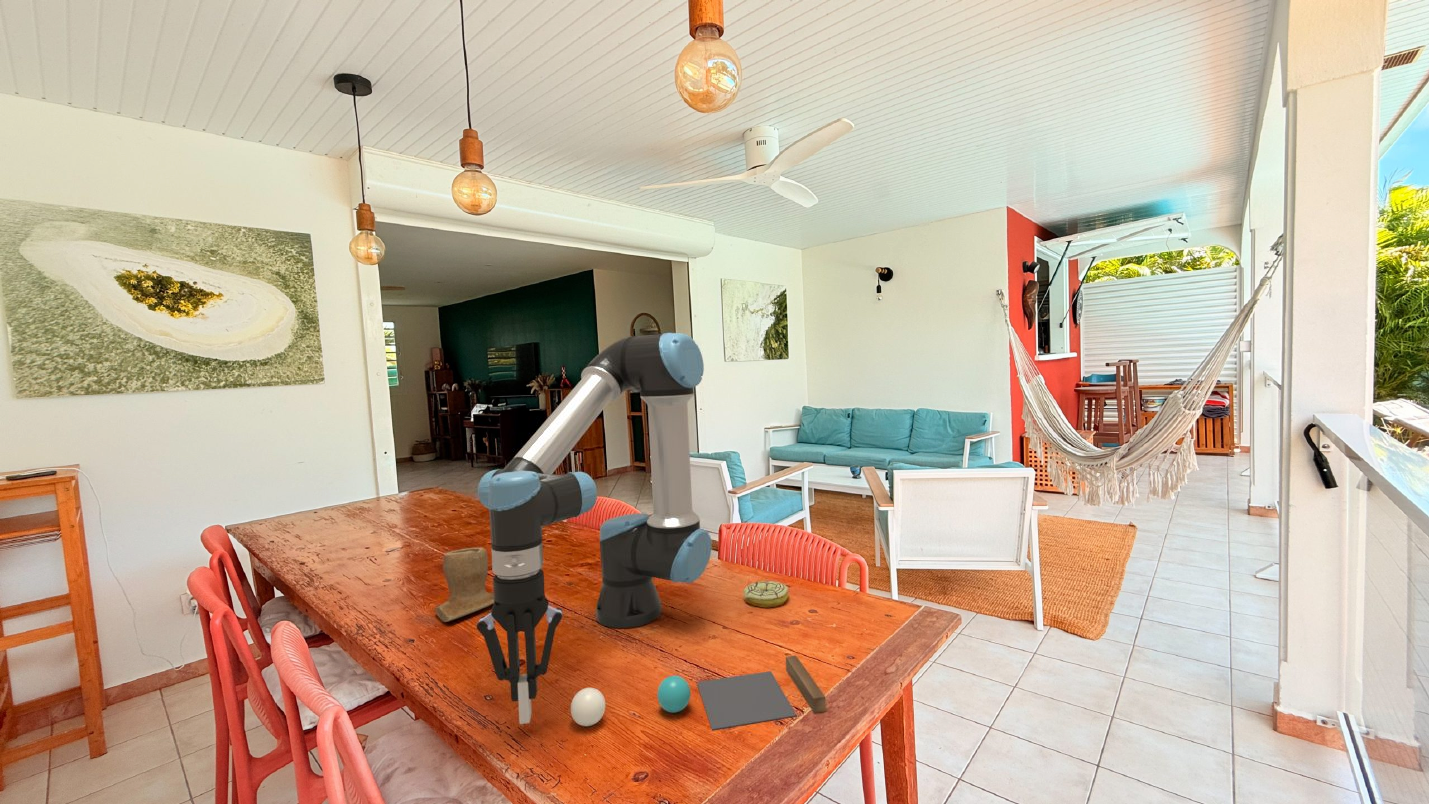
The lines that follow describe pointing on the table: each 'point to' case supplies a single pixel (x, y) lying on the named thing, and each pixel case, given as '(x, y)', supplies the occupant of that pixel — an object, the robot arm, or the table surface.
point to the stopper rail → (806, 684)
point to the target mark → (744, 700)
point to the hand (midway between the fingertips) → (525, 718)
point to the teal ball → (673, 694)
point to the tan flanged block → (465, 583)
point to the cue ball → (587, 706)
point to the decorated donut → (766, 594)
